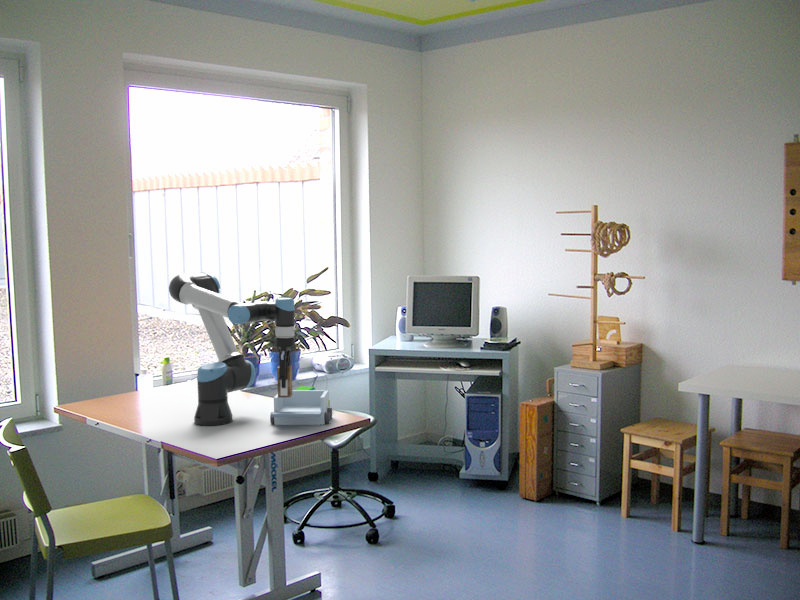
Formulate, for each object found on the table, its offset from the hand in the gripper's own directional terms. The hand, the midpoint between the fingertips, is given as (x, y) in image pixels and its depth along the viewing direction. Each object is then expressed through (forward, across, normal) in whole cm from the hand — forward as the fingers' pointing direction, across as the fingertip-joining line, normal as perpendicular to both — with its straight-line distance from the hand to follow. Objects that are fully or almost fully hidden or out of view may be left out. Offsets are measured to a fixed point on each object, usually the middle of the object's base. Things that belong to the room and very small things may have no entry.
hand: (285, 393), depth 308 cm
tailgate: (+7, -4, -6) cm, 10 cm away
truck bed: (+12, +4, -6) cm, 14 cm away
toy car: (+12, +20, -8) cm, 25 cm away
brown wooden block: (+1, 0, 0) cm, 1 cm away
